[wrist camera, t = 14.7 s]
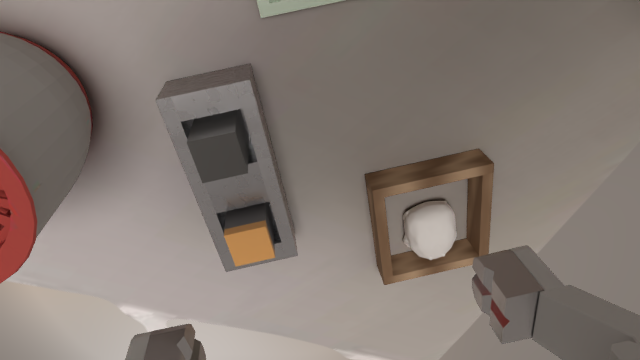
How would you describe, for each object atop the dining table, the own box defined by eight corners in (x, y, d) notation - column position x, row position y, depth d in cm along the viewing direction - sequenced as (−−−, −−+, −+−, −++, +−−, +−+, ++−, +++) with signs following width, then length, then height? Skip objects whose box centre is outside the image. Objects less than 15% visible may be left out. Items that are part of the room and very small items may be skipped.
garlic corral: (478, 148, 47) (493, 163, 44) (475, 243, 55) (487, 261, 52) (364, 174, 47) (372, 190, 44) (377, 265, 54) (384, 285, 51)
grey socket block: (250, 63, 39) (249, 79, 34) (294, 227, 49) (297, 255, 45) (166, 81, 38) (155, 100, 34) (228, 242, 49) (226, 271, 45)
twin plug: (237, 101, 39) (235, 131, 33) (248, 138, 41) (248, 173, 35) (196, 110, 39) (186, 142, 33) (209, 147, 41) (202, 183, 35)
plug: (264, 187, 44) (265, 226, 39) (272, 216, 47) (275, 257, 41) (227, 195, 44) (223, 235, 38) (238, 223, 46) (235, 266, 41)
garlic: (453, 239, 54) (466, 258, 51) (404, 252, 54) (413, 273, 51) (449, 190, 50) (463, 208, 46) (395, 205, 50) (405, 224, 47)
